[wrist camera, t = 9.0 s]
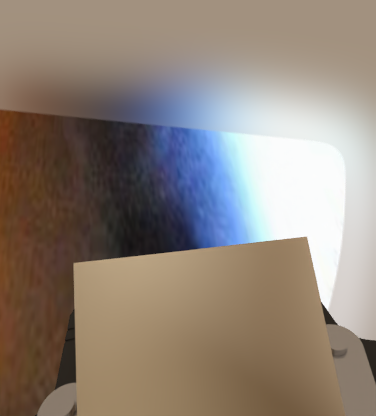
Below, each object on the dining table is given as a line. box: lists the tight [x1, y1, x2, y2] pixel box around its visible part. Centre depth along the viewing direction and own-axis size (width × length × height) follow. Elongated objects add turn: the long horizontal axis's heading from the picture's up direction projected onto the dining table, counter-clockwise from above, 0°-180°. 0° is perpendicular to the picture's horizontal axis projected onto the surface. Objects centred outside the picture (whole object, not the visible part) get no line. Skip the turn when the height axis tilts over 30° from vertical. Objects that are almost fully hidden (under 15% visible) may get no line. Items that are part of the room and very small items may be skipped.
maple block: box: [74, 237, 345, 416], centre depth 10 cm, size 4×4×10 cm
